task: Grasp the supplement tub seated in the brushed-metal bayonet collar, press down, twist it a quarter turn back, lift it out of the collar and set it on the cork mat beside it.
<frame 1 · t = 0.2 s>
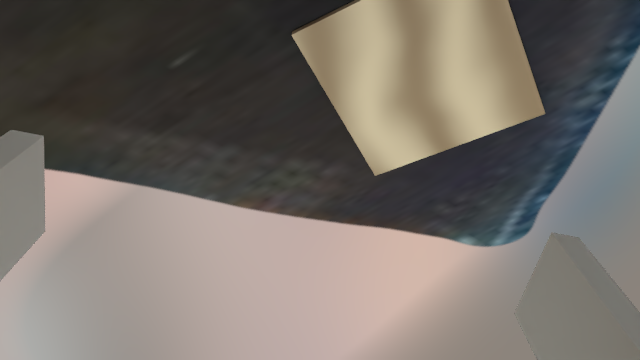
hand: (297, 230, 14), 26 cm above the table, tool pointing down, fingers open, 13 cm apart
mat: (421, 71, 39), on the table
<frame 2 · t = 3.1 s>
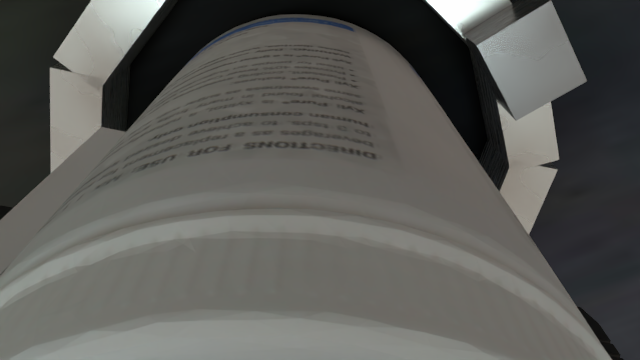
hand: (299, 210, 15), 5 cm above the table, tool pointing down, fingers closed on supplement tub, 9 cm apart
supplement tub: (304, 144, 19), resting in collar, touching gripper
collar: (304, 146, 19), on the table
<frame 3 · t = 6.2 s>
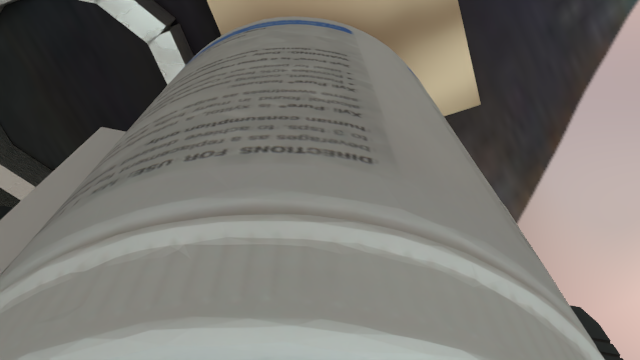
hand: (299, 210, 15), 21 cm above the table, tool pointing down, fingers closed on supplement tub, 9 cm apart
supplement tub: (303, 146, 19), point 16 cm above the table, touching gripper
mat: (343, 34, 33), on the table
collar: (82, 92, 34), on the table
when the fingers open (6 cm above the table, at t = 9.5 s): supplement tub stays where it is, resting on mat.
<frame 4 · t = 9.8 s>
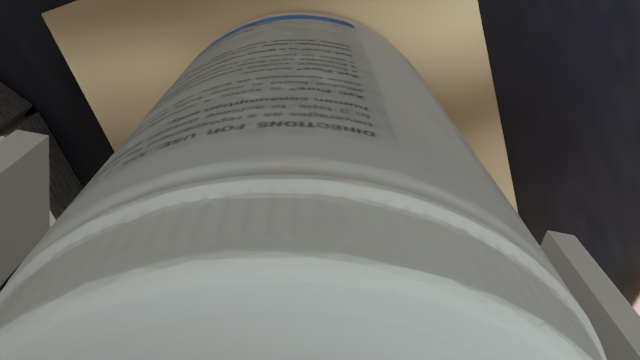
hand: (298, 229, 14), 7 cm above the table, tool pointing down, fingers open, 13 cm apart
supplement tub: (306, 137, 20), resting on mat
mat: (305, 132, 20), on the table
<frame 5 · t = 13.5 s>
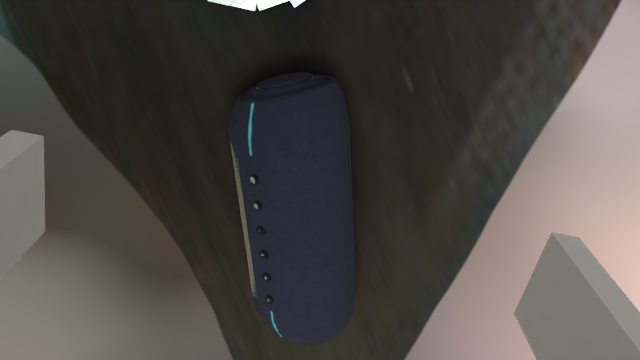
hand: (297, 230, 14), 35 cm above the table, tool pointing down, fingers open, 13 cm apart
portable speaker: (299, 187, 53), on the table
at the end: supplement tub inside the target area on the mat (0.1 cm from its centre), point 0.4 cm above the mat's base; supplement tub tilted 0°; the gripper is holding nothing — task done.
